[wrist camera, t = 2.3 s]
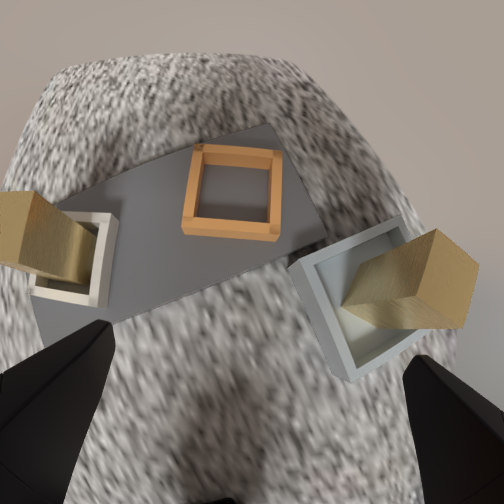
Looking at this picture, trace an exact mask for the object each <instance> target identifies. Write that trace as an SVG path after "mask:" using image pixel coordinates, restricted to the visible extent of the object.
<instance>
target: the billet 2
mask: <svg viewBox="0 0 504 504" xmlns="http://www.w3.org/2000/svg"><path fill="white" fill-rule="evenodd" d="M478 269H479V264H478V263H477V262H476V261H474V260H473V259H472V258H471V257H470V256H469V255H468V254H466V252H464V251H463V250H462V249H461V248H460V247H459V246H457V245H456V244H455V243H454V242H453V241H452V240H450V239H449V238H448V237H447V236H445V235H444V234H443V233H442V232H441V231H439V230H438V229H437V228H436V229H435V230H432V231H430V232H428V233H426V234H424V235H422V236H420V237H418V238H415V239H413V240H411V241H409V242H407V243H405V244H403V245H400V246H398V247H396V248H394V249H392V250H390V251H387V252H385V253H383V254H381V255H379V256H376V257H374V258H372V259H370V260H367V261H365V262H363V263H360V266H359V268H358V270H357V272H356V275H355V277H354V279H353V281H352V283H351V286H350V288H349V290H348V292H347V294H346V296H345V298H344V301H343V303H342V305H341V307H342V308H343V309H345V310H347V311H349V312H350V313H352V314H354V315H356V316H357V317H359V318H361V319H363V320H364V321H366V322H368V323H370V324H371V325H373V326H375V327H377V328H378V329H459V328H463V326H464V323H465V319H466V316H467V313H468V309H469V306H470V302H471V298H472V295H473V291H474V286H475V282H476V278H477V273H478Z"/></svg>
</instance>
